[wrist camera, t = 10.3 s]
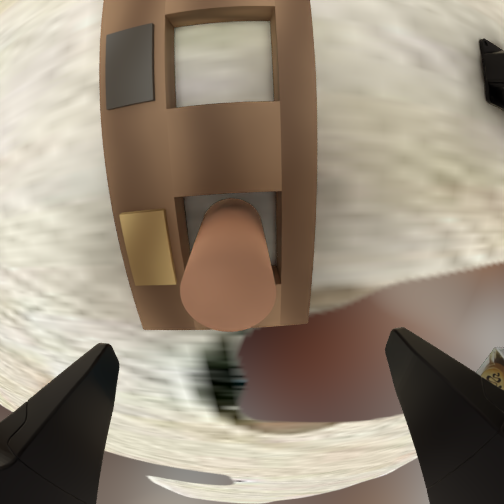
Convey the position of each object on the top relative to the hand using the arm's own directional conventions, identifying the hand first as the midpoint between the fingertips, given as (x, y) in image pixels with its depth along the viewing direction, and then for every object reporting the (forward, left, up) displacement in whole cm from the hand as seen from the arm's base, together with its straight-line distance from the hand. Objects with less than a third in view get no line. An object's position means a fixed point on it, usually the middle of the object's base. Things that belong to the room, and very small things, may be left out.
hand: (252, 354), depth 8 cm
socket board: (+2, -5, -12) cm, 13 cm away
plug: (+1, 0, -12) cm, 12 cm away
